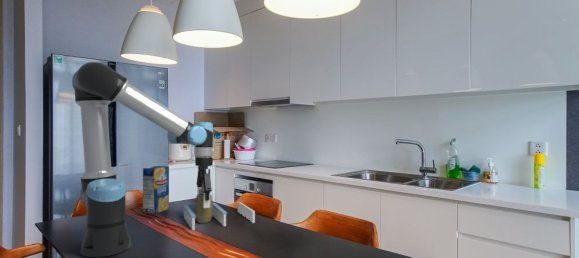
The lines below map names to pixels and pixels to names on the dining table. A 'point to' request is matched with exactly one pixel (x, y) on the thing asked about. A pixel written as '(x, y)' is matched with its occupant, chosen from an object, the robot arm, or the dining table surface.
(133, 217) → the dining table surface
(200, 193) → the squeeze bottle
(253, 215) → the divider rack
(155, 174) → the blue food box
